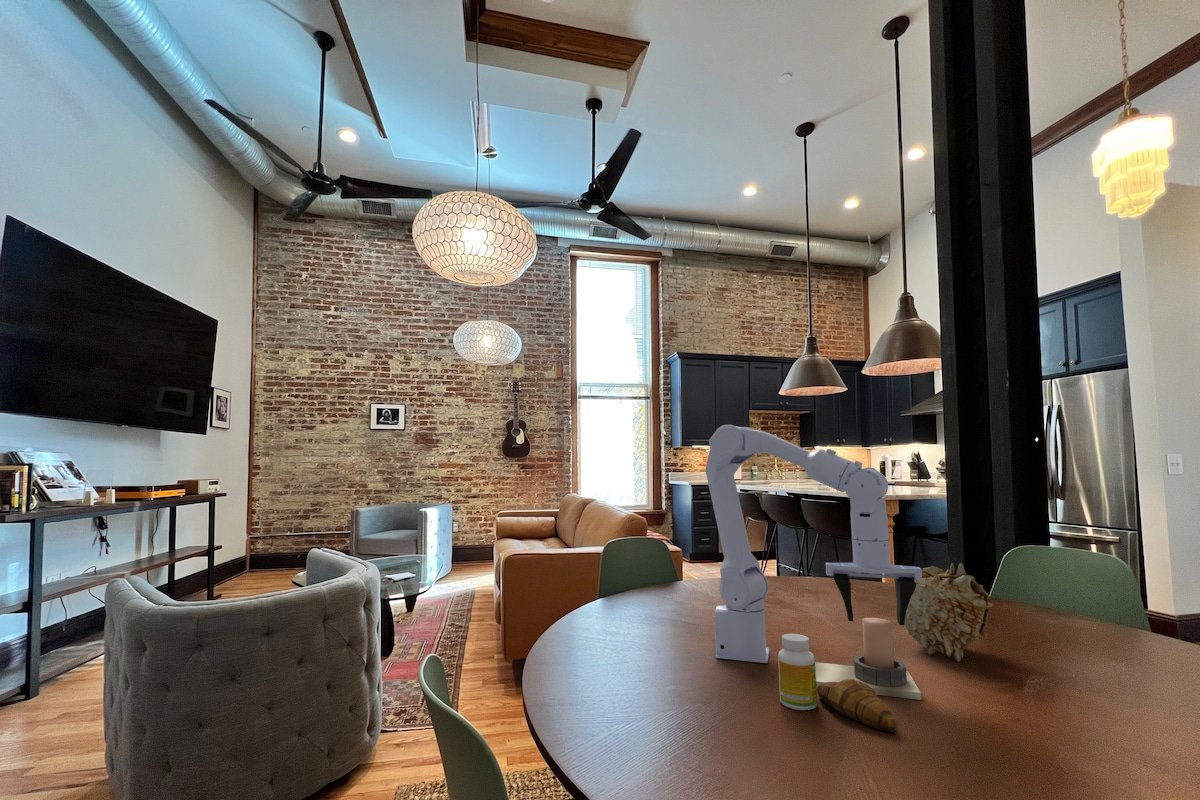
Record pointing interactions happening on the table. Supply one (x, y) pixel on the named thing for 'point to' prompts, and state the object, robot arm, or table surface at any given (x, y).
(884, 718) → the croissant
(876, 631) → the peg
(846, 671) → the holder board
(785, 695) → the supplement bottle
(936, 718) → the table surface
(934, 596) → the seashell
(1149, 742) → the table surface
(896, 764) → the table surface
